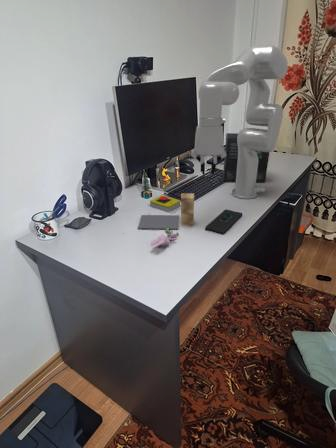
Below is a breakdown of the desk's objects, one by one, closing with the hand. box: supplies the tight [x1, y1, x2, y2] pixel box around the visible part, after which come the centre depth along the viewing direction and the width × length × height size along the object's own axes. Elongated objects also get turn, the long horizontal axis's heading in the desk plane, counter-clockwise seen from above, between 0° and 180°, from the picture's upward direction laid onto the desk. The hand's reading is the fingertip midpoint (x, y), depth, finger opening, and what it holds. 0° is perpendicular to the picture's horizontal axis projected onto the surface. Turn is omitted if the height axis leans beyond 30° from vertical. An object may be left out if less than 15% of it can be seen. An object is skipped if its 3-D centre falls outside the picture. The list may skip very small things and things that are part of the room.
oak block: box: [180, 192, 195, 227], centre depth 123 cm, size 5×5×12 cm
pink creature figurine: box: [150, 228, 180, 248], centre depth 110 cm, size 6×6×15 cm
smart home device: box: [205, 209, 243, 236], centre depth 126 cm, size 8×2×20 cm
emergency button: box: [147, 194, 181, 214], centre depth 141 cm, size 9×4×15 cm
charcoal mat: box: [137, 214, 180, 231], centre depth 126 cm, size 16×12×1 cm
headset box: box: [222, 132, 270, 184], centre depth 167 cm, size 22×12×26 cm, turn 84°
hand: (207, 173), depth 116 cm, fingers open, 2 cm apart
